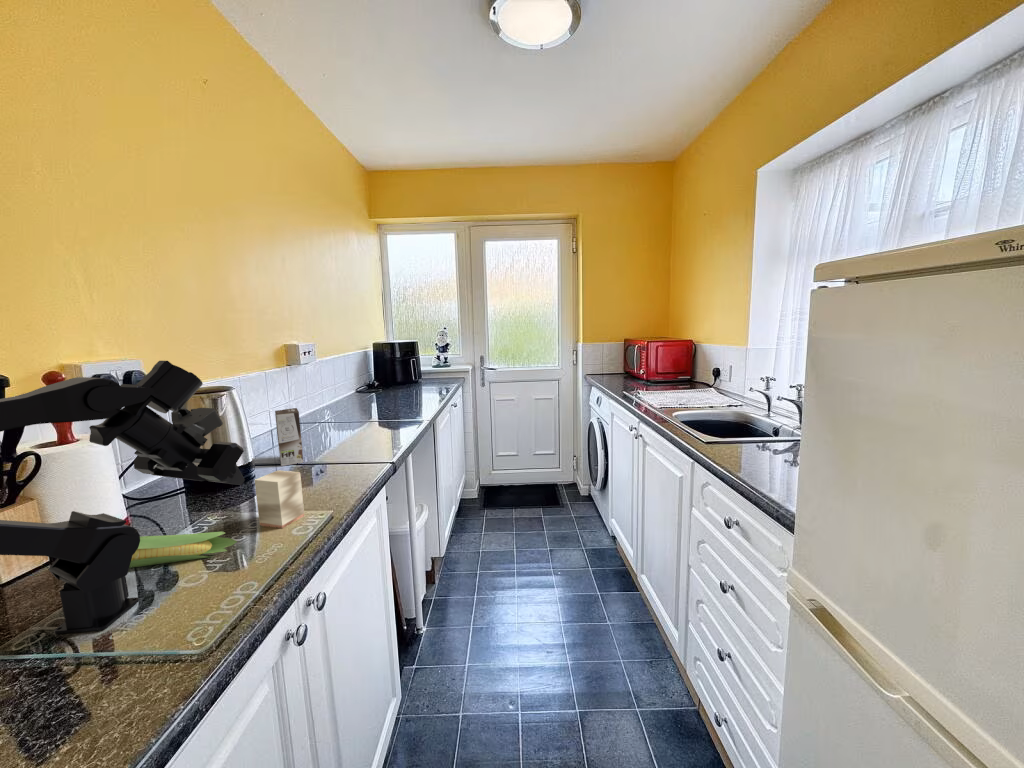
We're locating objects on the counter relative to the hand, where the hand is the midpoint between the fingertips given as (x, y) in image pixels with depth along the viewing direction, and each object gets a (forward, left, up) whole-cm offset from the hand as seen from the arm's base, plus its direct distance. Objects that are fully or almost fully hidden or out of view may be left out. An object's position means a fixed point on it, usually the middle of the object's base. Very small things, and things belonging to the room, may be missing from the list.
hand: (223, 480), depth 78 cm
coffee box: (+55, +11, -13) cm, 57 cm away
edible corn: (-3, +9, -14) cm, 16 cm away
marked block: (+11, -5, -13) cm, 18 cm away
